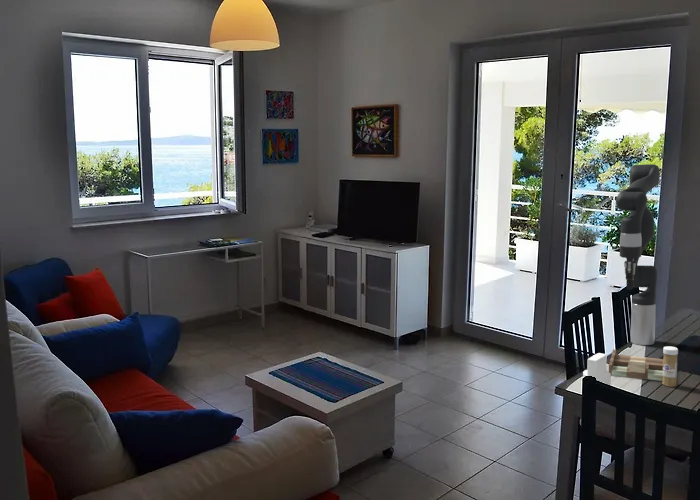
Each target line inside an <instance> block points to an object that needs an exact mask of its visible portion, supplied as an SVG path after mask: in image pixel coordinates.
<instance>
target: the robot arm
mask: <svg viewBox="0 0 700 500" xmlns="http://www.w3.org/2000/svg"><path fill="white" fill-rule="evenodd" d="M660 176H661V174H660V167H659V166H658V165H657V164H649V163H648V164H634V165H631V166H630V169H629V186H628V187H627V188H625V189H623V190H622V191H620V192H619V193H618V194H617V196H616V199H615V206H616V208H618V210H620V211H630V213H629V214H630V215H629V216H625V217H622V218H621V220H620V235H619V236H620V237H619V257H621V258H624V259H626V260H624V263H623V265H624V275H625V280H626V290H629V291H631V290H633V289H634V288H645V290H644V291H642V292H639V293H635V294H633V295H632V296H631V315H630V317H631V318H630V343H632V344H635V345H640V346H650V345H654V344H655V334H656V308H657V307H656V299H657V286H658V285H657V283H658V269H657V267H656V266H655V265H638V263H639V260H640V258H641V257H642V253H643V251H644V250H645V249H646V248H647V245H649V243H650V242H651V240H652V239H653V238H654V234H655V217H654V215H653V213H652V212H651V210H650V209H649V207H647V204H648V196H647V194H648V193H649V192H650V191H651V190H652V189H654V188H655V187H656V186H657V185H658V184H659V182H660V179H661V177H660Z"/></svg>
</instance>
